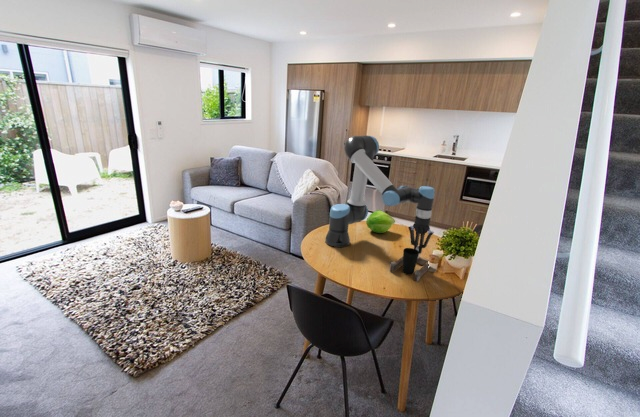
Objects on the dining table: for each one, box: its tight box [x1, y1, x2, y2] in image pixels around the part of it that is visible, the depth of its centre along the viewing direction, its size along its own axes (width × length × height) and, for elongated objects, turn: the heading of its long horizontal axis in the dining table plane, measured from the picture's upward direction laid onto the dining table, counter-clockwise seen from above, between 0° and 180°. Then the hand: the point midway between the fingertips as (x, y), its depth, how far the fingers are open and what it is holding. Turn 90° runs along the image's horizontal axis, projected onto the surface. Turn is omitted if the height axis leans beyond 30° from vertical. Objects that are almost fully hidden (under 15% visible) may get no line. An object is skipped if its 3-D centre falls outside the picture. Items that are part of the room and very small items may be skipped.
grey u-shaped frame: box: [389, 256, 430, 283], centre depth 163 cm, size 15×20×5 cm
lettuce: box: [365, 210, 396, 234], centre depth 210 cm, size 15×20×14 cm
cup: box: [402, 247, 420, 276], centre depth 159 cm, size 8×8×12 cm
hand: (416, 258), depth 166 cm, fingers closed
